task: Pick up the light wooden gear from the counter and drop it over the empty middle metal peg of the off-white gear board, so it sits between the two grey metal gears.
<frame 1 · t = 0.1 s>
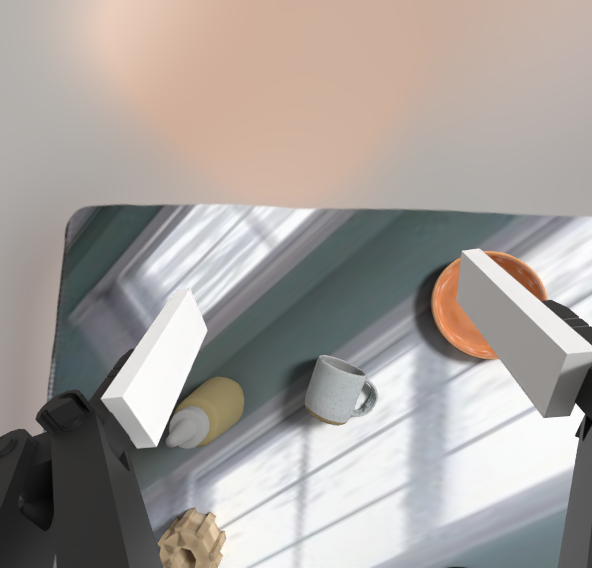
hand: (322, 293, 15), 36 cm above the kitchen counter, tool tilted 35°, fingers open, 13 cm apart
saucer: (479, 304, 48), on the kitchen counter
squeeze bottle: (227, 396, 52), on the kitchen counter
wooden gear: (197, 539, 50), on the kitchen counter
ceramic mug: (342, 384, 50), on the kitchen counter
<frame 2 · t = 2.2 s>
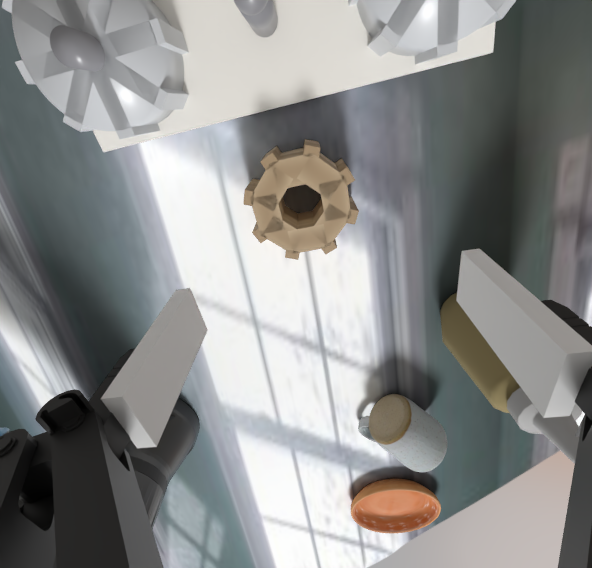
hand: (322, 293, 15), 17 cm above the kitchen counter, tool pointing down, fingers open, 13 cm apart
saucer: (391, 494, 58), on the kitchen counter
squeeze bottle: (464, 307, 36), on the kitchen counter
gear board: (266, 24, 23), on the kitchen counter
wooden gear: (301, 194, 30), on the kitchen counter
ceramic mug: (391, 411, 46), on the kitchen counter
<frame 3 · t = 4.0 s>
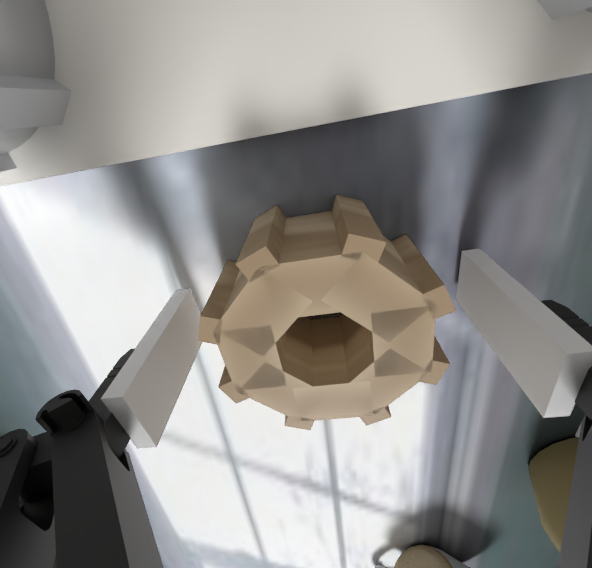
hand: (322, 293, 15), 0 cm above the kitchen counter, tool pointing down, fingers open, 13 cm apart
squeeze bottle: (568, 454, 22), on the kitchen counter
wooden gear: (320, 290, 16), on the kitchen counter
ceramic mug: (420, 555, 32), on the kitchen counter
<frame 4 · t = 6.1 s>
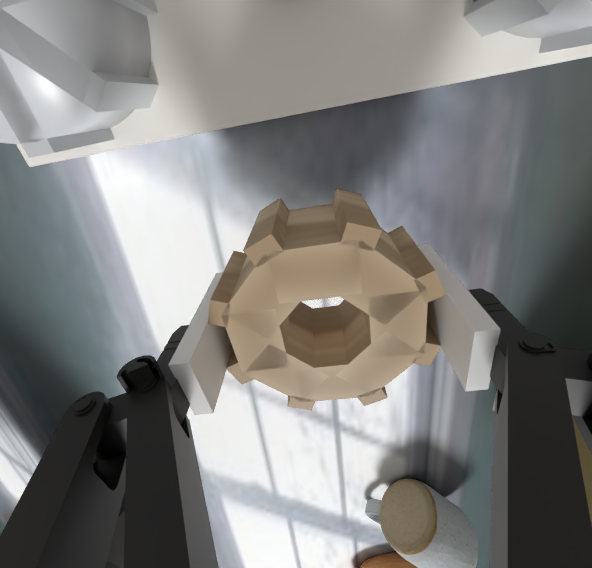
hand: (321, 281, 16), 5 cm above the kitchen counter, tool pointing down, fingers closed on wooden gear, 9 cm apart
saucer: (400, 564, 50), on the kitchen counter
squeeze bottle: (530, 388, 27), on the kitchen counter
wooden gear: (321, 279, 16), point 5 cm above the kitchen counter, touching gripper
ceramic mug: (406, 492, 38), on the kitchen counter
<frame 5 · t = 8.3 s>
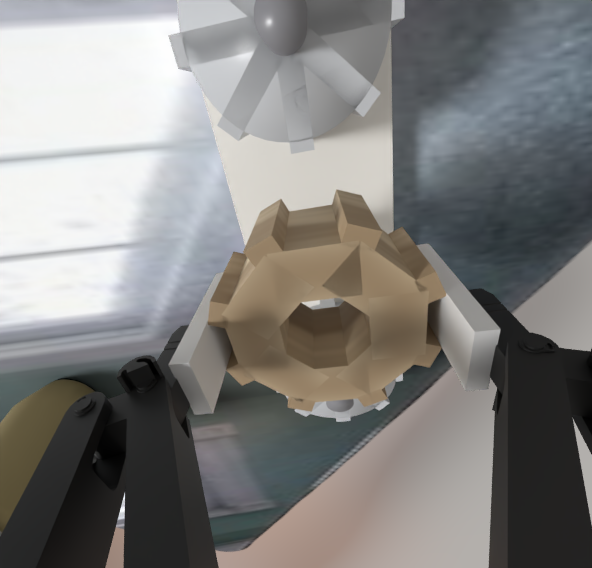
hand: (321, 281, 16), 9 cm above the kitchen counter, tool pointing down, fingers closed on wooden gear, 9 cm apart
squeeze bottle: (77, 394, 35), on the kitchen counter
gear board: (316, 222, 24), on the kitchen counter
wooden gear: (321, 280, 16), point 9 cm above the kitchen counter, touching gripper
when the fingers open (3 cm above the kitchen counter, at t = 10.5 s): wooden gear stays where it is, resting on gear board.
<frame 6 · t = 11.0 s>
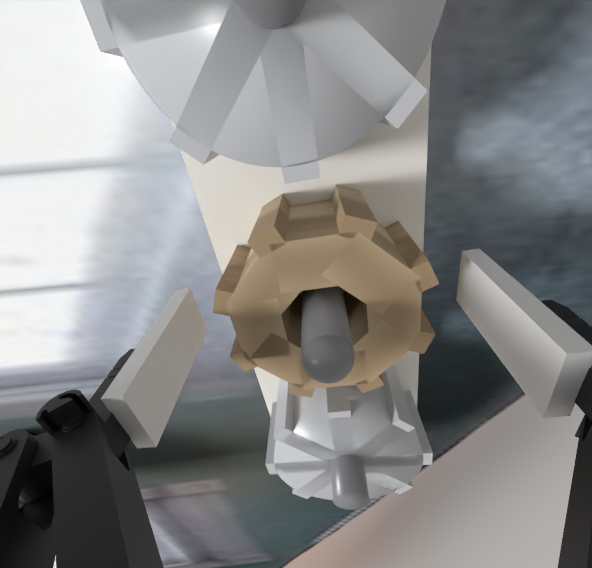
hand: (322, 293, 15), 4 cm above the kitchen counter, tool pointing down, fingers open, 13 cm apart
gear board: (320, 260, 18), on the kitchen counter
wooden gear: (321, 273, 17), point 1 cm above the kitchen counter, touching gear board
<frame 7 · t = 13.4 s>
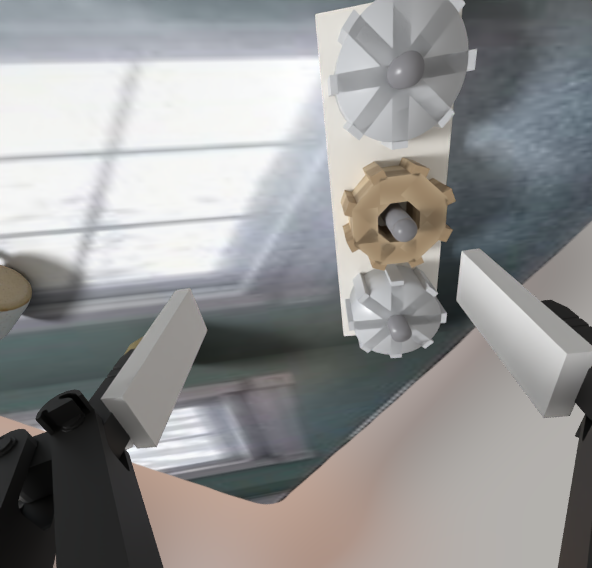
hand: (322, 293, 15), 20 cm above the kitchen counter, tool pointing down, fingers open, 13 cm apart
gear board: (384, 203, 32), on the kitchen counter
wooden gear: (388, 208, 31), point 1 cm above the kitchen counter, touching gear board
ceramic mug: (0, 281, 40), on the kitchen counter
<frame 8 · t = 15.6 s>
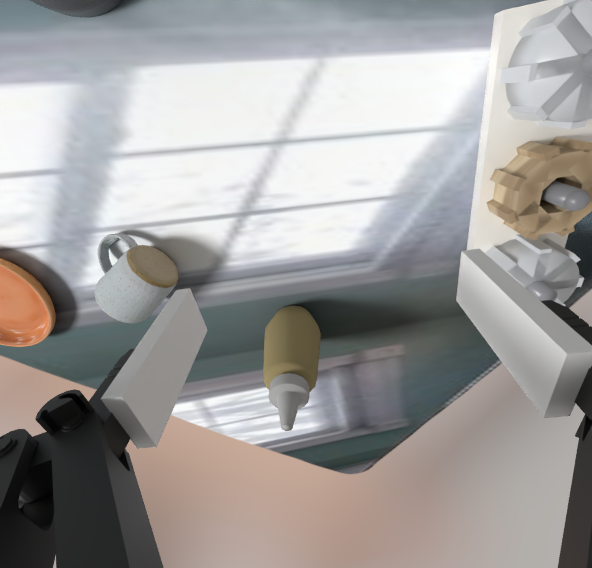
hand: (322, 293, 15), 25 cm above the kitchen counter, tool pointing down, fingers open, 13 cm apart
saucer: (10, 293, 47), on the kitchen counter
squeeze bottle: (293, 319, 47), on the kitchen counter
gear board: (523, 180, 36), on the kitchen counter
wooden gear: (532, 184, 34), point 1 cm above the kitchen counter, touching gear board
ceramic mug: (143, 263, 43), on the kitchen counter
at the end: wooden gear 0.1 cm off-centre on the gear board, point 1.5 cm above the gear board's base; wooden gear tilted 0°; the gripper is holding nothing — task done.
